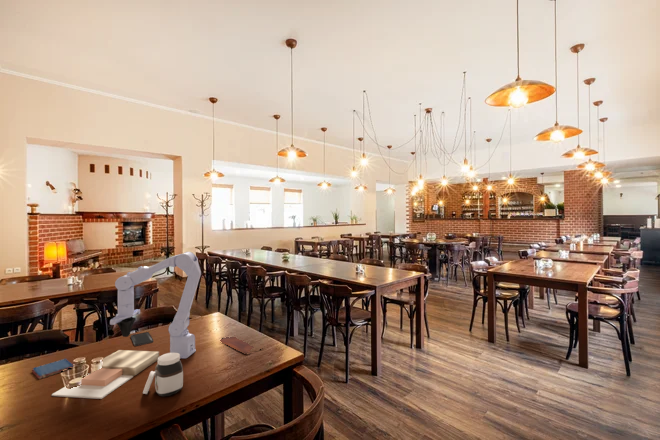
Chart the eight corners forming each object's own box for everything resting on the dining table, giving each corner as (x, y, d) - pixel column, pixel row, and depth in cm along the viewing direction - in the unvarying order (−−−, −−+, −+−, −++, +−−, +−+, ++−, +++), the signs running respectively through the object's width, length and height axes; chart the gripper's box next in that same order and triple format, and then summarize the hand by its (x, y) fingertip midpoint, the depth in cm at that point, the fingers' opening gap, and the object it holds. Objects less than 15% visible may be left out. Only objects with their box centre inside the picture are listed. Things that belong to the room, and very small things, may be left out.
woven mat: (30, 373, 119) (30, 367, 119) (65, 362, 128) (65, 357, 128) (37, 381, 113) (37, 375, 113) (74, 369, 122) (74, 364, 122)
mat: (132, 377, 115) (132, 375, 115) (101, 398, 101) (101, 397, 101) (88, 374, 117) (88, 373, 117) (51, 395, 103) (51, 394, 103)
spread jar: (186, 392, 105) (185, 358, 105) (148, 406, 97) (148, 369, 97) (174, 379, 114) (174, 347, 114) (138, 391, 106) (138, 357, 106)
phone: (148, 331, 159) (153, 340, 148) (148, 333, 159) (153, 342, 148) (130, 335, 154) (134, 344, 143) (130, 337, 154) (134, 347, 143)
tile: (122, 374, 116) (122, 369, 116) (104, 386, 108) (104, 380, 108) (100, 373, 117) (100, 368, 117) (81, 384, 109) (81, 379, 109)
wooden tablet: (265, 350, 140) (265, 346, 140) (245, 357, 133) (245, 353, 133) (233, 335, 158) (233, 331, 158) (215, 340, 151) (215, 337, 151)
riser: (159, 358, 130) (159, 351, 130) (134, 375, 116) (134, 367, 116) (119, 357, 132) (119, 350, 132) (90, 373, 118) (90, 365, 118)
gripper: (129, 299, 138) (129, 329, 138) (102, 308, 123) (103, 342, 123) (144, 299, 137) (144, 330, 137) (119, 309, 123) (119, 343, 123)
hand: (126, 336), depth 130 cm, fingers closed
